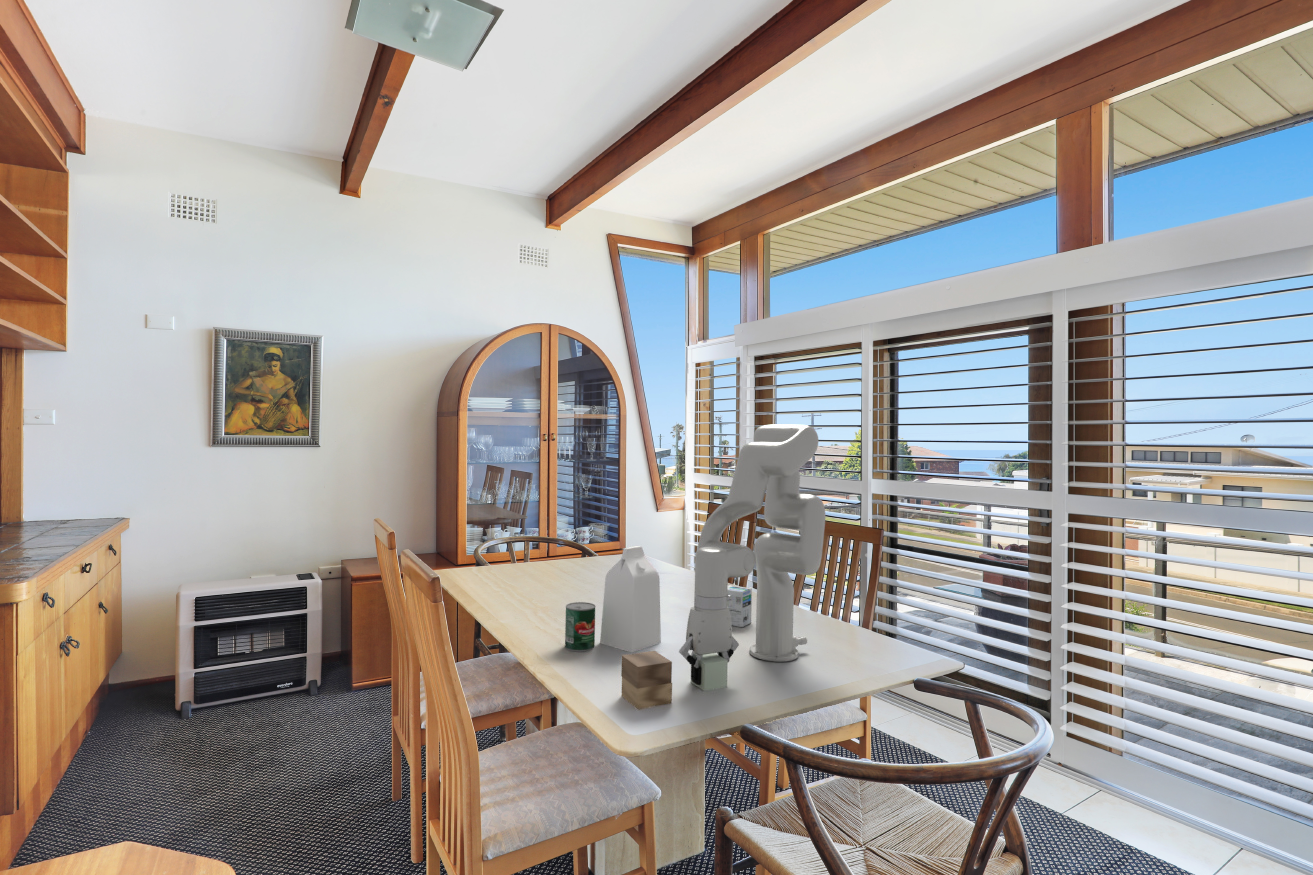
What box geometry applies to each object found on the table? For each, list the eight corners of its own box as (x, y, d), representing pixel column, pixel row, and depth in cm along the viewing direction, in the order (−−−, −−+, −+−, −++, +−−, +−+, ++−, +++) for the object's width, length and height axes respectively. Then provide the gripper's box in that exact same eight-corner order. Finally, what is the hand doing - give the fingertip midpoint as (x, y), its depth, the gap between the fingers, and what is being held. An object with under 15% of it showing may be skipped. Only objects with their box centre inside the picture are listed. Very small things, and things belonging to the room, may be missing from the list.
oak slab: (654, 691, 149) (654, 670, 149) (671, 704, 142) (672, 682, 142) (621, 696, 145) (621, 675, 145) (637, 710, 138) (638, 688, 138)
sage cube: (712, 678, 157) (713, 652, 157) (727, 686, 152) (727, 660, 152) (690, 681, 155) (691, 655, 155) (704, 690, 149) (705, 663, 149)
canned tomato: (573, 640, 183) (574, 600, 183) (599, 644, 181) (600, 603, 180) (559, 649, 176) (560, 607, 176) (586, 653, 173) (587, 610, 173)
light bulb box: (752, 622, 206) (752, 587, 206) (742, 627, 200) (743, 591, 200) (720, 617, 211) (721, 582, 211) (710, 621, 206) (711, 586, 206)
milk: (629, 633, 191) (631, 542, 191) (660, 642, 184) (663, 547, 184) (599, 643, 182) (602, 547, 182) (631, 652, 175) (634, 552, 175)
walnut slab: (654, 670, 149) (654, 650, 149) (671, 682, 142) (671, 661, 142) (621, 676, 145) (621, 655, 145) (637, 688, 138) (637, 666, 138)
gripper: (732, 595, 161) (731, 670, 161) (669, 601, 153) (667, 681, 153) (751, 602, 154) (749, 680, 154) (686, 609, 146) (684, 692, 146)
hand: (708, 680), depth 153 cm, fingers closed on sage cube, 6 cm apart
